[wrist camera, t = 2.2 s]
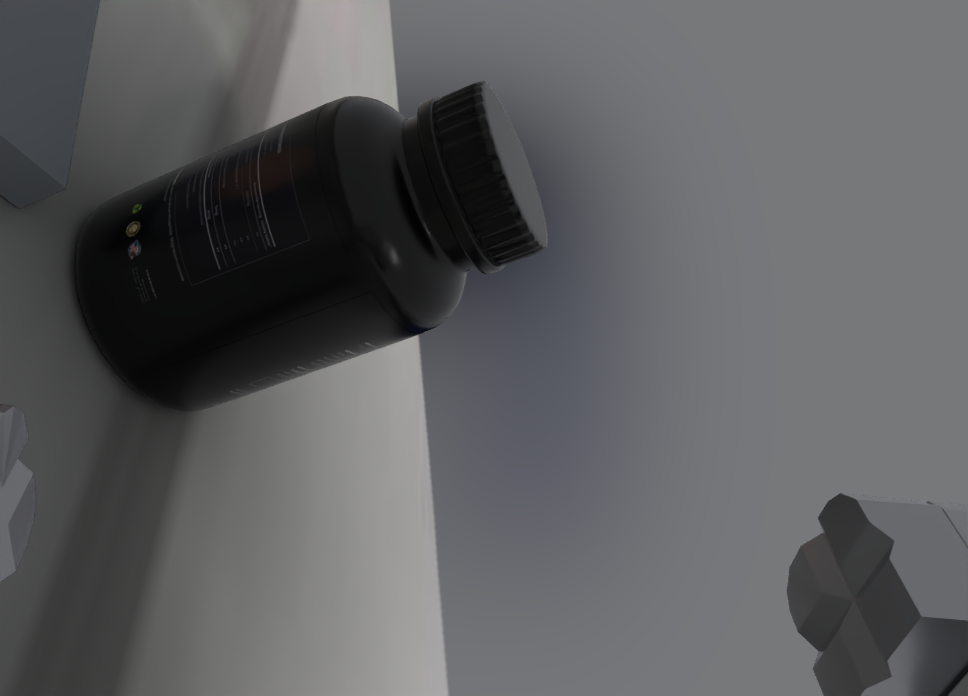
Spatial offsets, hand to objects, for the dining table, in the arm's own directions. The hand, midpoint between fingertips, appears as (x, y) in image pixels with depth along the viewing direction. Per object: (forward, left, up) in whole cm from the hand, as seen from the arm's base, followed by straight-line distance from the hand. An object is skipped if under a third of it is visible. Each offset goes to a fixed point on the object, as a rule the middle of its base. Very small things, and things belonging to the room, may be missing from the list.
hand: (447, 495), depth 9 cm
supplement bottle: (+9, +13, -13) cm, 20 cm away
